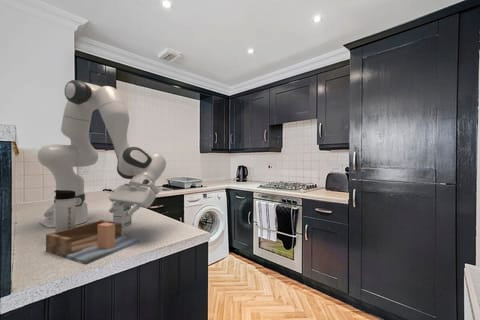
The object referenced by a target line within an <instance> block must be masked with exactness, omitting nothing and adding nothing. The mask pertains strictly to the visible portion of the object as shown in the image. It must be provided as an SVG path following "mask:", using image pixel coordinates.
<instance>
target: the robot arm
mask: <svg viewBox="0 0 480 320" xmlns="http://www.w3.org/2000/svg"><path fill="white" fill-rule="evenodd" d="M64 96H65V98H66V100H67V102H66V104H65V107H64V110H63V116H62V120H61V127H60V131H61V133H62V134H63V135H64V136H65V137H67V138H68V139H69V140H70V144H48V145H43V146H42V147H40V148H39V150H38V152H37V159H38V162H39V163H40V164H41V165H42V166H43V167H45V168H46V169H48V170H49V171H50V172H51V173H52V176H53V177H54V180H55V181H54V182H55V190H69V191H75V197H76V199H75V200H76V210H75V226H76V225H80V224H81V225H82V224H83V223H84V224H85V223H86V222H88V221H89V220H90V219H91V216H90V215H89V212H88V211H89V210H88V204H87V202H86V194H85V180H84V178H83V176H81V175H79V174H77V173H76V172H75V171H74V168H81V167H84V168H85V167H89V166H93V165H95V164H96V163H97V162H98V159H99V152H98V151H97V150H96V149H95V148H94V146H93V145H92V143H91V141H90V128H91V122H92V115H93V112H94V111H95V110H98V113H99V114H100V117H101V118H102V121H103V123H104V126H105V128H106V130H107V132H108V133H107V134H108V135H109V137H110V140H111V144H112V147H113V149H114V154H115V156H116V158H117V159H116V160H117V166H116V172H117V174H118V175H119V176H120V177H121V178H122V179H127V180H129V182H128V183H124V184H122V185H119V186H118V187H117V188H115V190H113V192H112V193H111V194H110V195H109V196H108V200H109V201H110V202H111V206H110V208H109V209H108V212H109V213H111V214H113V213H115V211H116V207H117V206H118V205H119V204H122V205H129V206H131V209H130V210H128V211H127V212H126V215H128V216H131V217H132V216H133V214H134V213H135V212H137V211H138V210H140V208H144V209H147V208H149V207H150V206H151V205H152V204H153V202H154V201H155V199H156V198H157V195H159V194H160V189H159V188H158V186H157V185H156V182H157V180H159V179H160V177H161V176H162V174H164V171H165V169H166V167H167V161H166V159H165V157H164V156H163V155H161V154H160V153H158V152H149V151H145V150H144V149H142V148H140V147H136V146H130V145H129V142H128V130H129V123H130V114H129V111H128V108H127V106H126V105H127V104H126V103H125V101H124V99H123V98H122V96H121V93H119V92H118V90H117V89H116V88H115V87H112V86H109V85H103V86H100V85H97V84H92V83H91V82H90V83H89V82H84V81H83V80H77V79H74V80H73V79H72V80H70V81H68V82H67V83H66V85H65V87H64ZM53 197H54V198H53V204H52V205H51V206H50V207H48V208H47V210H46V211H45V212H44V213H43V216H44V219H41V220H39V222H38V223H39V224H41V225H42V226H44V227H46V228H48V229H51V228H55V201H56V200H55V199H56V195H54V196H53Z"/></svg>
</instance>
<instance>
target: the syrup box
mask: <svg viewBox="0 0 480 320" xmlns="http://www.w3.org/2000/svg"><path fill="white" fill-rule="evenodd" d="M131 208H132V206H129V205H122V204H119V205H118V206H117V207H116V211H115V213H112V222H116V223H122V228H125V227H127V226H130V225H131V224H132V216H128V215H126V212H127V211H128V210H130V209H131Z"/></svg>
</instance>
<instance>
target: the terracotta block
mask: <svg viewBox="0 0 480 320" xmlns="http://www.w3.org/2000/svg"><path fill="white" fill-rule="evenodd" d="M114 246H115V224H112V223H107V222H105V223H101V224H98V239H97V247H100V248H104V249H109V248H111V247H114Z"/></svg>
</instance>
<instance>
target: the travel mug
mask: <svg viewBox="0 0 480 320" xmlns="http://www.w3.org/2000/svg"><path fill="white" fill-rule="evenodd" d="M53 192H54V193H55V196H56V199H55V200H56V201H55V227H54V228H55V229H54V230H55V231H54V232H58V231H61V230H65V229H69V228H73V227H76V225H75V210H76V200H75V199H76V197H75V191H69V190H56V189H55V190H53Z"/></svg>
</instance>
